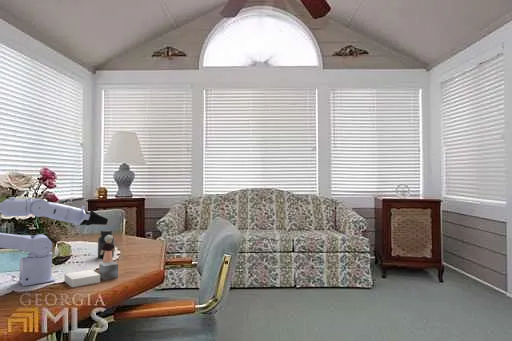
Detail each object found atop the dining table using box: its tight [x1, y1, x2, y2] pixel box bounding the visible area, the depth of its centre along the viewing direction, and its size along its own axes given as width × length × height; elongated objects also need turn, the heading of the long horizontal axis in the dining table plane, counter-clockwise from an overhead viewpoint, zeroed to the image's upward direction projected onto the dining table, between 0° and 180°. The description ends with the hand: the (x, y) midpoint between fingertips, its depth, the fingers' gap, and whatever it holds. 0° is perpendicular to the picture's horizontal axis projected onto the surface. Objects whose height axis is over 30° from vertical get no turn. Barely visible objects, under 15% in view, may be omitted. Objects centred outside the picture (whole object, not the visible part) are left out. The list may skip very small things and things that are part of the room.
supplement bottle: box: [97, 229, 115, 259], centre depth 162 cm, size 7×7×12 cm
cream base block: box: [63, 269, 101, 288], centre depth 123 cm, size 9×9×3 cm
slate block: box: [98, 261, 119, 281], centre depth 129 cm, size 5×5×5 cm
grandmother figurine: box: [100, 235, 116, 263], centre depth 146 cm, size 8×4×13 cm, turn 168°
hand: (104, 221), depth 136 cm, fingers open, 7 cm apart
